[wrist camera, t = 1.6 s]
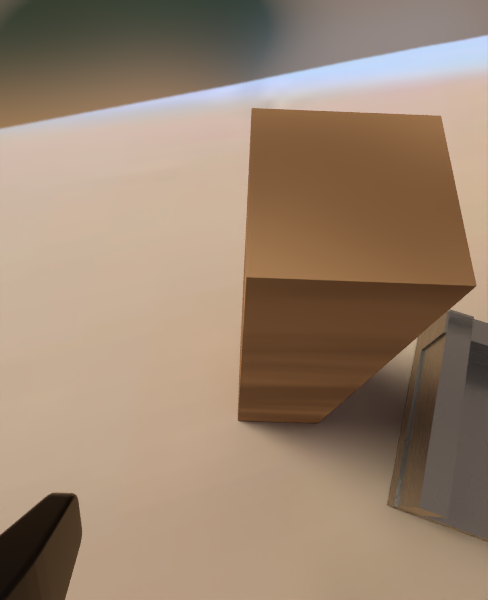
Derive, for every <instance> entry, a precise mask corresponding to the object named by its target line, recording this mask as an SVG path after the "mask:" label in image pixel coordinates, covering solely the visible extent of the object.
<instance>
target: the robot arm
mask: <svg viewBox="0 0 488 600" xmlns="http://www.w3.org/2000/svg"><path fill="white" fill-rule="evenodd" d="M81 538H82V526H81V518H80V510H79V502H78V498H77V496H76V495H75V494H73V493H51V494H49V495H48V496H46V497H45V498H44V499H43V500H41V501H40V502H39V503H38V504H37V505H35V506H34V507H33V508H32V509H31V510H29V511H28V512H27V513H26V514H25V515H24V516H22V517H21V518H20V519H19V520H18V521H16V522H15V523H14V524H13V525H12V526H10V527H9V528H8V529H7V530H6V531H4V532H3V533H2V534H1V535H0V600H65V597H66V594H67V590H68V587H69V583H70V579H71V576H72V572H73V569H74V565H75V562H76V558H77V555H78V551H79V547H80V544H81Z"/></svg>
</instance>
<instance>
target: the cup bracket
mask: <svg viewBox="0 0 488 600" xmlns="http://www.w3.org/2000/svg"><path fill="white" fill-rule="evenodd" d="M387 505H388V506H391V507H393V508H396V509H399V510H402V511H404V512H407V513H410V514H413V515H416V516H418V517H421V518H424V519H427V520H429V521H432V522H435V523H438V524H441V525H443V526H446V527H449V528H452V529H454V530H457V531H460V532H463V533H465V534H468V535H471V536H474V537H477V538H479V539H482V540H485V541H488V323H485V322H482V321H479V320H475V319H474V317H472V316H469V315H466V314H463V313H459V312H456V311H453V310H449V311H447V312H446V313H445V314H443V315H442V316H441V317H440V318H439V319H438V320H436V321H435V322H434V323H433V324H432V325H431V326H430V327H428V328H427V329H426V330H425V331H424V332H423V333H422V334H420V335H419V336H418V340H417V345H416V351H415V356H414V362H413V367H412V373H411V378H410V384H409V389H408V394H407V400H406V405H405V411H404V416H403V422H402V427H401V433H400V438H399V443H398V449H397V454H396V460H395V465H394V471H393V476H392V482H391V487H390V492H389V498H388V503H387Z"/></svg>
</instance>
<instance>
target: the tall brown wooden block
mask: <svg viewBox="0 0 488 600" xmlns="http://www.w3.org/2000/svg"><path fill="white" fill-rule="evenodd" d="M474 287H476V281H475V277H474V272H473V267H472V262H471V258H470V253H469V248H468V243H467V238H466V234H465V229H464V224H463V219H462V215H461V210H460V205H459V200H458V195H457V191H456V186H455V181H454V176H453V171H452V167H451V162H450V157H449V152H448V148H447V143H446V138H445V133H444V128H443V124H442V119H441V116H430V115H406V114H381V113H356V112H332V111H307V110H282V109H258V108H252V115H251V136H250V157H249V177H248V198H247V219H246V240H245V261H244V282H243V303H242V324H241V346H240V374H239V402H238V420H239V421H268V422H296V423H319V422H320V421H321V420H322V419H324V418H325V417H326V416H327V415H328V414H329V413H331V412H332V411H333V410H334V409H335V408H336V407H337V406H339V405H340V404H341V403H342V402H343V401H344V400H345V399H347V398H348V397H349V396H350V395H351V394H352V393H354V392H355V391H356V390H357V389H358V388H359V387H360V386H362V385H363V384H364V383H365V382H366V381H367V380H369V379H370V378H371V377H372V376H373V375H374V374H375V373H377V372H378V371H379V370H380V369H381V368H382V367H384V366H385V365H386V364H387V363H388V362H389V361H390V360H392V359H393V358H394V357H395V356H396V355H397V354H398V353H400V352H401V351H402V350H403V349H404V348H405V347H407V346H408V345H409V344H410V343H411V342H412V341H413V340H415V339H416V338H417V337H418V336H419V335H420V334H422V333H423V332H424V331H425V330H426V329H427V328H428V327H430V326H431V325H432V324H433V323H434V322H435V321H436V320H438V319H439V318H440V317H441V316H442V315H443V314H445V313H446V312H447V311H448V310H449V309H450V308H451V307H453V306H454V305H455V304H456V303H457V302H458V301H460V300H461V299H462V298H463V297H464V296H465V295H466V294H468V293H469V292H470V291H471V290H472V289H473V288H474Z"/></svg>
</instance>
